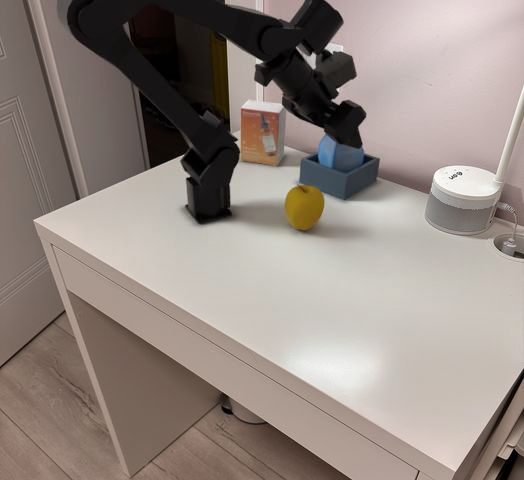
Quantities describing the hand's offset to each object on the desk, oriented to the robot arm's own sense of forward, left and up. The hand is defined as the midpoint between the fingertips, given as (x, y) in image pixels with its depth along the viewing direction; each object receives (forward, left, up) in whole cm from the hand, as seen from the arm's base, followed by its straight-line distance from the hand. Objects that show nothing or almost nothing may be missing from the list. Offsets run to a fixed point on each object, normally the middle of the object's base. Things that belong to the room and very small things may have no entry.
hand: (345, 137), depth 97 cm
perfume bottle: (-1, 0, -8) cm, 8 cm away
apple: (-16, -12, -9) cm, 21 cm away
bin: (-1, 0, -8) cm, 9 cm away
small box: (-9, +16, -9) cm, 20 cm away
